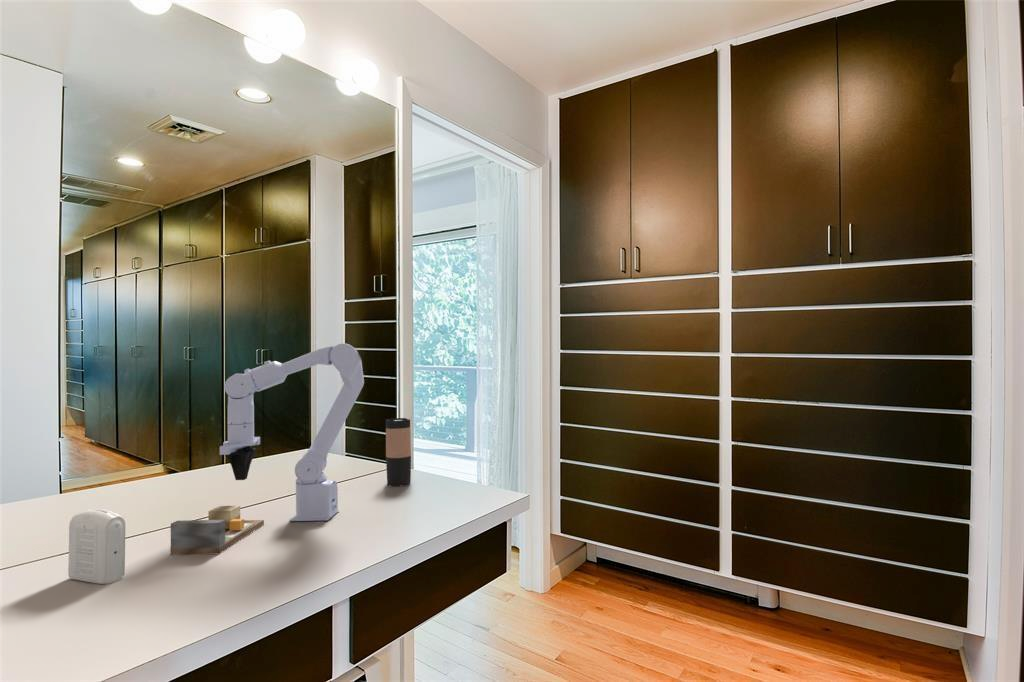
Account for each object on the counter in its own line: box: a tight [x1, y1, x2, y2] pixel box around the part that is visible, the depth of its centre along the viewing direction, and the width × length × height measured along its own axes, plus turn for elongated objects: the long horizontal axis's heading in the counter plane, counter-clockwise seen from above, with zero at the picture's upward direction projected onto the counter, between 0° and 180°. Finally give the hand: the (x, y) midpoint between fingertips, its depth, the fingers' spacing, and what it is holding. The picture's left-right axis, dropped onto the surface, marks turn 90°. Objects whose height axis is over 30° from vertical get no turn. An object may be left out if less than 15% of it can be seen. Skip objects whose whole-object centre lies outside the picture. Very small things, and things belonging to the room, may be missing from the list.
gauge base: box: [170, 519, 265, 555], centre depth 113 cm, size 10×18×6 cm, turn 179°
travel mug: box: [385, 417, 412, 487], centre depth 161 cm, size 8×8×20 cm
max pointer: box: [230, 518, 245, 530], centre depth 114 cm, size 2×2×2 cm, turn 89°
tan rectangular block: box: [207, 505, 241, 529], centre depth 117 cm, size 8×4×4 cm, turn 89°
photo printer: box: [67, 508, 126, 585], centre depth 93 cm, size 10×4×12 cm, turn 73°
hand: (241, 479), depth 124 cm, fingers closed
